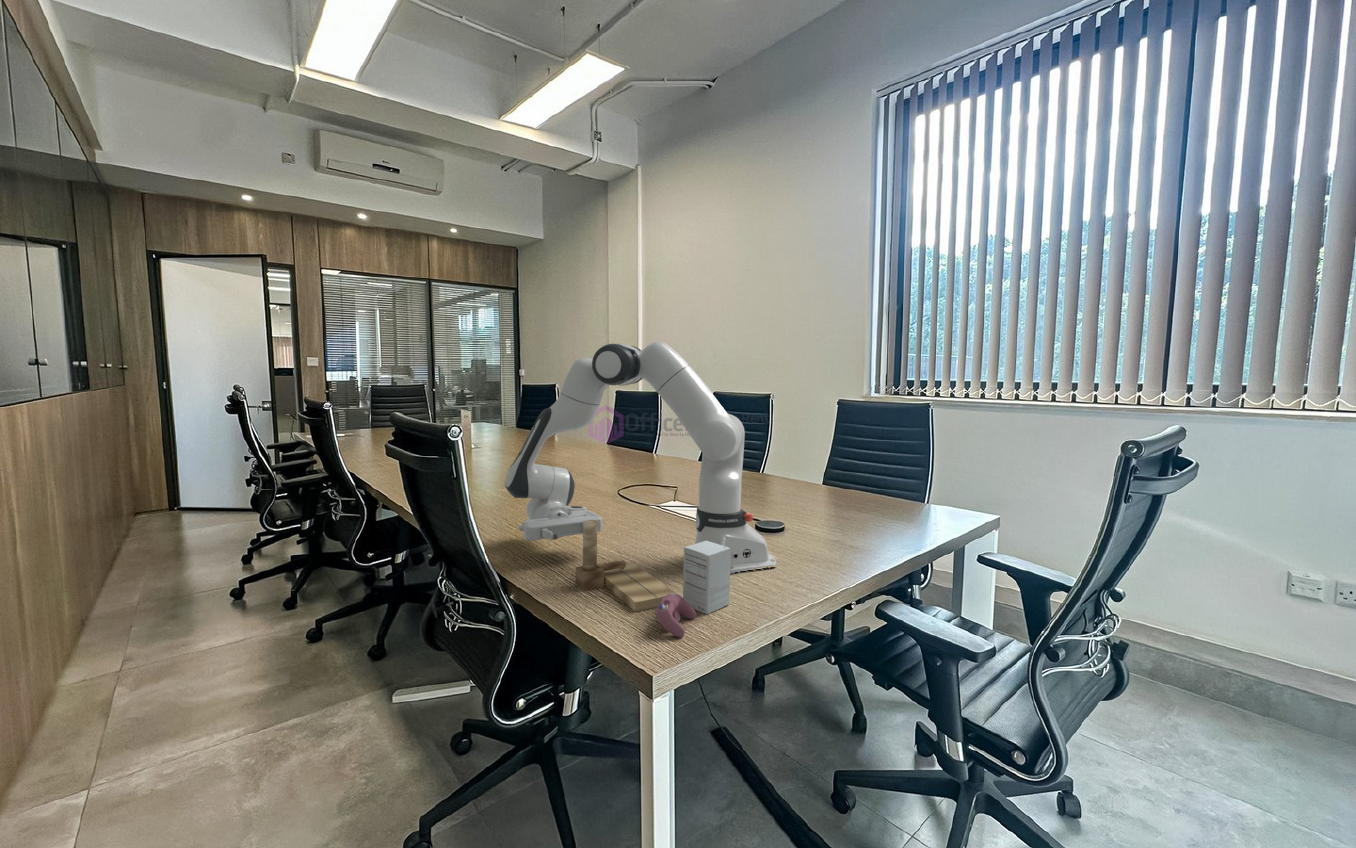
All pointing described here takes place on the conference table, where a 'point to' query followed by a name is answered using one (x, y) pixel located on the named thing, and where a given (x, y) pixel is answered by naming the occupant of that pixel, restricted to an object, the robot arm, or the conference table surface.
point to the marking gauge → (592, 561)
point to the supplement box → (706, 576)
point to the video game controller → (674, 613)
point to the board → (636, 587)
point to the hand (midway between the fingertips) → (572, 534)
